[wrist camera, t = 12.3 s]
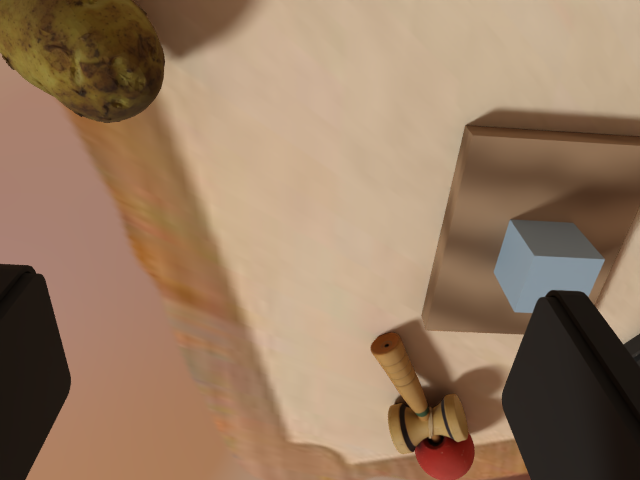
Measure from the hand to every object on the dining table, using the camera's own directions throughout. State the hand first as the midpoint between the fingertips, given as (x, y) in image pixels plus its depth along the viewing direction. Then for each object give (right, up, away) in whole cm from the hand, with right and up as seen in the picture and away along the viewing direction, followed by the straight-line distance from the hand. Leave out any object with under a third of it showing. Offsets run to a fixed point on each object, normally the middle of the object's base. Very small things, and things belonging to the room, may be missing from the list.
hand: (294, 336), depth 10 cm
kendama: (+10, -13, +43) cm, 46 cm away
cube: (+17, +1, +31) cm, 35 cm away
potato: (-14, +17, +23) cm, 32 cm away
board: (+17, +2, +32) cm, 37 cm away
